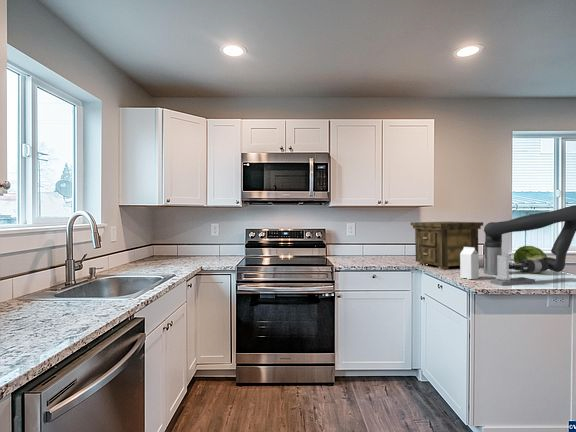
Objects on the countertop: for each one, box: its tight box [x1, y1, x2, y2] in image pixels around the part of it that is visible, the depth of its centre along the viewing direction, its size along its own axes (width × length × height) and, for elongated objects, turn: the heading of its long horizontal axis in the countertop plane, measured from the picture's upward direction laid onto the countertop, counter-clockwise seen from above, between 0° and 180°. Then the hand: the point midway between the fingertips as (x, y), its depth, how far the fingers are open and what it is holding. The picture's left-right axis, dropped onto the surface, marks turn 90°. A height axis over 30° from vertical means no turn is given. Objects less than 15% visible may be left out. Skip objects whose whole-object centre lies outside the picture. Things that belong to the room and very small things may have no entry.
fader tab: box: [495, 255, 512, 281], centre depth 189 cm, size 4×6×13 cm, turn 13°
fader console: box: [489, 276, 536, 287], centre depth 191 cm, size 22×8×2 cm, turn 103°
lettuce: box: [513, 245, 548, 274], centre depth 222 cm, size 17×23×17 cm
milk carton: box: [459, 247, 480, 280], centre depth 205 cm, size 7×7×19 cm
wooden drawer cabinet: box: [410, 221, 484, 270], centre depth 254 cm, size 35×35×33 cm
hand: (504, 267), depth 189 cm, fingers closed
